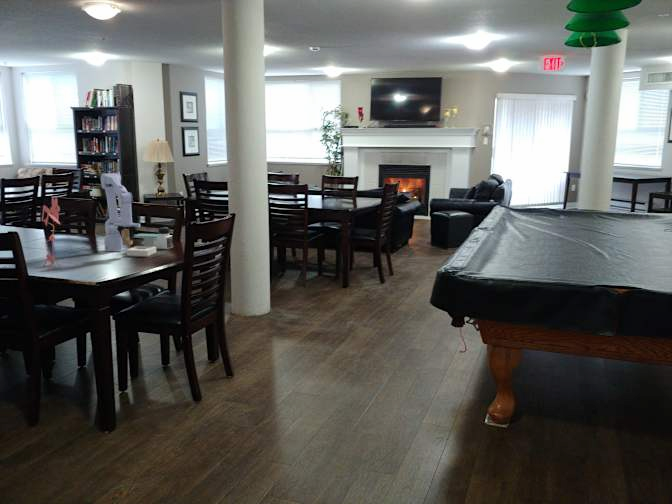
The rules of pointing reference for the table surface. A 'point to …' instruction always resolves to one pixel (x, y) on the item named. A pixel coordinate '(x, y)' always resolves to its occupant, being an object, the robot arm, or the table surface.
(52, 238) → the figurine
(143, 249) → the socket block
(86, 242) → the table surface
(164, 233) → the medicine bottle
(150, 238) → the awning
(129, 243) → the oak peg
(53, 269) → the table surface
